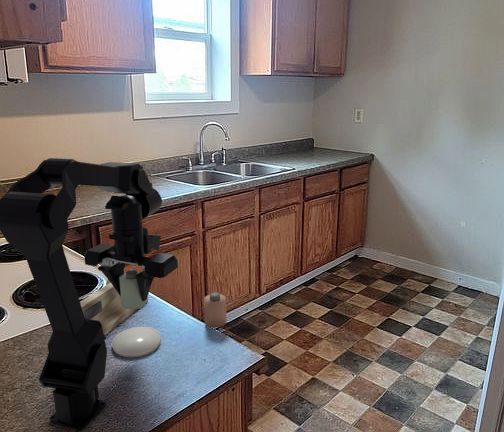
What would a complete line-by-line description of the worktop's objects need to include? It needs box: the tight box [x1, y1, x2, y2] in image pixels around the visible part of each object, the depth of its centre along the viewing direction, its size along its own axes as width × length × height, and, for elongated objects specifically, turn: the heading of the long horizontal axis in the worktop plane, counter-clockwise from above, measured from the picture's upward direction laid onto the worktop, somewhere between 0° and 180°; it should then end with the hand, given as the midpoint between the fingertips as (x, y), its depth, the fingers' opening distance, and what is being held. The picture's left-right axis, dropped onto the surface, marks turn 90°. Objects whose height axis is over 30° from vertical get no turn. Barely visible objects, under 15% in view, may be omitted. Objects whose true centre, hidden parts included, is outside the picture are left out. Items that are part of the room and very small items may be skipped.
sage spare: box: [119, 269, 148, 310], centre depth 89 cm, size 5×5×7 cm
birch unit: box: [80, 283, 149, 336], centre depth 101 cm, size 22×5×8 cm, turn 159°
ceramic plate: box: [111, 326, 162, 358], centre depth 93 cm, size 10×10×1 cm
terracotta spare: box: [203, 292, 227, 329], centre depth 100 cm, size 5×5×7 cm
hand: (133, 298), depth 90 cm, fingers closed on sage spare, 5 cm apart
